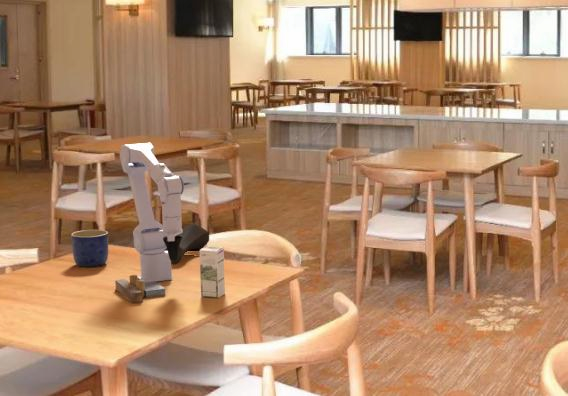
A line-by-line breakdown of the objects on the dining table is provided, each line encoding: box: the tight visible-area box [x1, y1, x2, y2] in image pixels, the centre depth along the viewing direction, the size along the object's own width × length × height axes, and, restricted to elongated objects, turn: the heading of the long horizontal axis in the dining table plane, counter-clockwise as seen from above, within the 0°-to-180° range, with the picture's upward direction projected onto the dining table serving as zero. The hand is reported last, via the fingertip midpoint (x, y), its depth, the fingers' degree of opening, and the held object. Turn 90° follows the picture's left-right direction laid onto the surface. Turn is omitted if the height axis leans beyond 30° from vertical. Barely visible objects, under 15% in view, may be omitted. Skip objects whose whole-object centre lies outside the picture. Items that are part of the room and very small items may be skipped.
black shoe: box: [165, 223, 210, 265], centre depth 355 cm, size 11×10×28 cm
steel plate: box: [144, 281, 166, 298], centre depth 305 cm, size 6×10×2 cm, turn 24°
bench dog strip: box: [114, 274, 146, 304], centre depth 302 cm, size 5×18×5 cm, turn 25°
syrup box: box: [199, 245, 226, 299], centre depth 299 cm, size 6×6×14 cm
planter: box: [70, 229, 109, 268], centre depth 343 cm, size 12×12×11 cm
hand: (173, 259), depth 307 cm, fingers closed
